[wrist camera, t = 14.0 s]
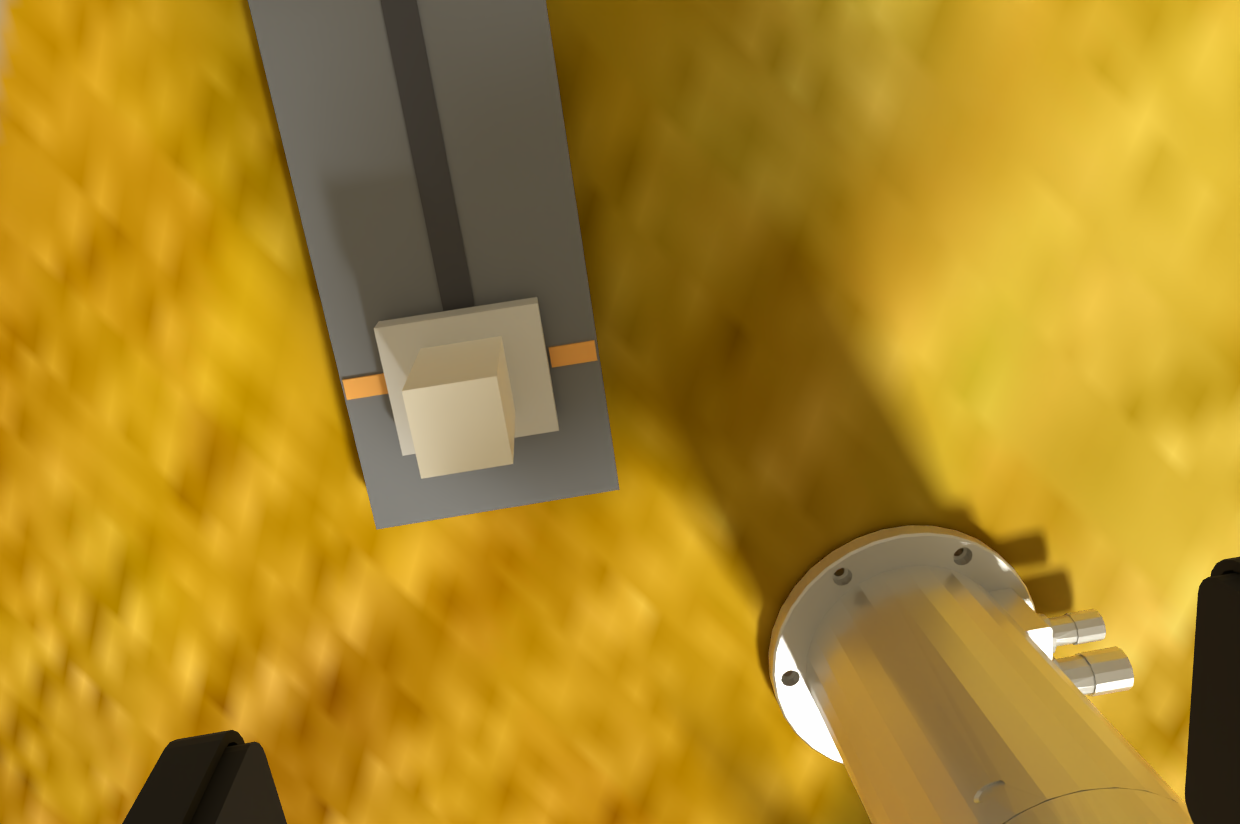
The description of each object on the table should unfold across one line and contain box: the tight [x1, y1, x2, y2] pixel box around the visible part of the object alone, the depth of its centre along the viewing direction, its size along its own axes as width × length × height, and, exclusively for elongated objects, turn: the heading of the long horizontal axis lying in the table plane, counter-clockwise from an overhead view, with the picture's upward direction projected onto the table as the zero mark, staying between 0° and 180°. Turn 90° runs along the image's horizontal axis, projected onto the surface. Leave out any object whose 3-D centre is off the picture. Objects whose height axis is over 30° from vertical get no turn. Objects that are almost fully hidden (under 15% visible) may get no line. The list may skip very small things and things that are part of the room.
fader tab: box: [374, 297, 559, 479], centre depth 33 cm, size 6×5×7 cm
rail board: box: [248, 0, 619, 529], centre depth 36 cm, size 10×26×2 cm, turn 8°
